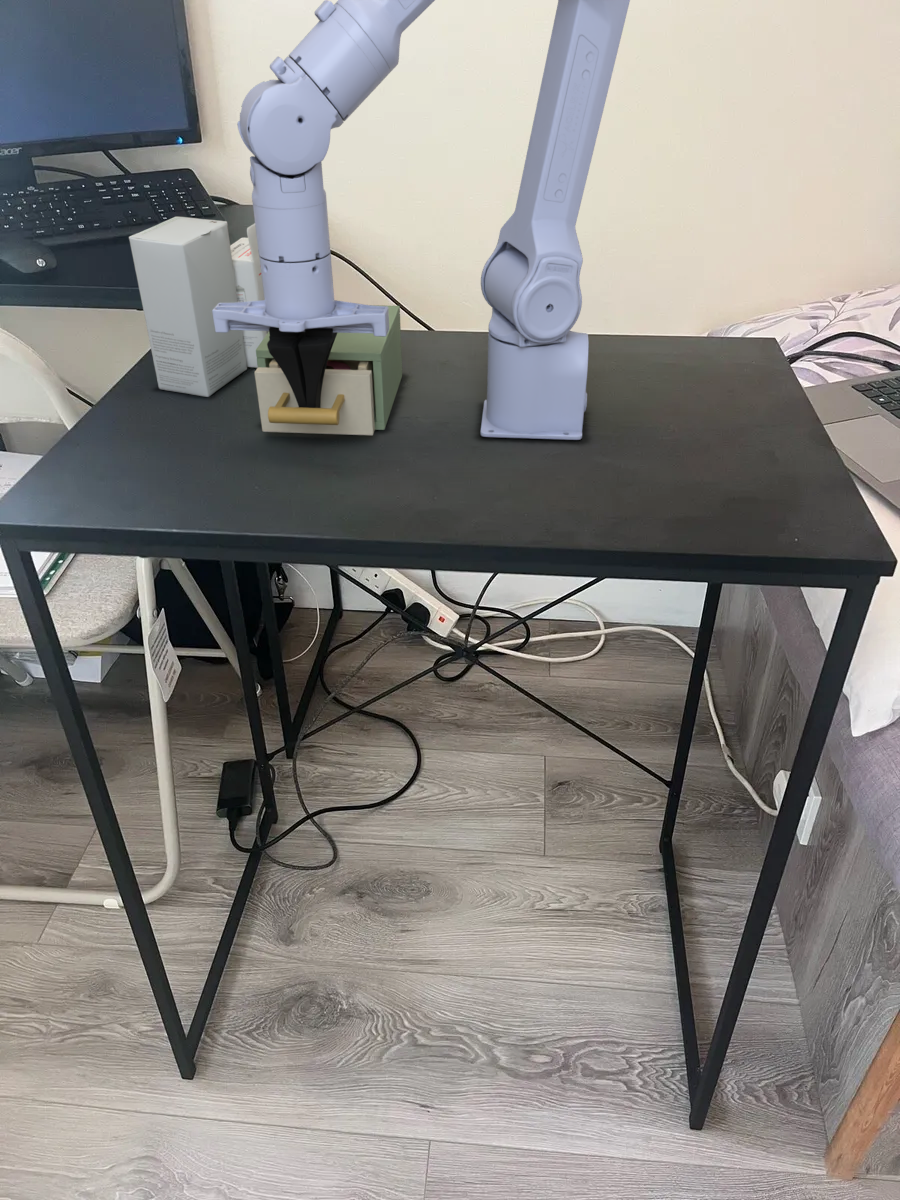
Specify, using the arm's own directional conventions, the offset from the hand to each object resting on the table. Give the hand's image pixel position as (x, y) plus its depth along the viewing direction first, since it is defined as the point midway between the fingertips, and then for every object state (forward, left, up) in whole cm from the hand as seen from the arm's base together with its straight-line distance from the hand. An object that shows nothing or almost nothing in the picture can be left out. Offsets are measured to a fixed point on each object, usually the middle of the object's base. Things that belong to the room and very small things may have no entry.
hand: (310, 411), depth 81 cm
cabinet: (0, -12, -4) cm, 12 cm away
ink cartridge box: (+11, -24, -4) cm, 26 cm away
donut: (0, -7, -2) cm, 7 cm away
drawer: (0, -6, -3) cm, 6 cm away
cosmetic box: (+15, -16, -4) cm, 22 cm away
